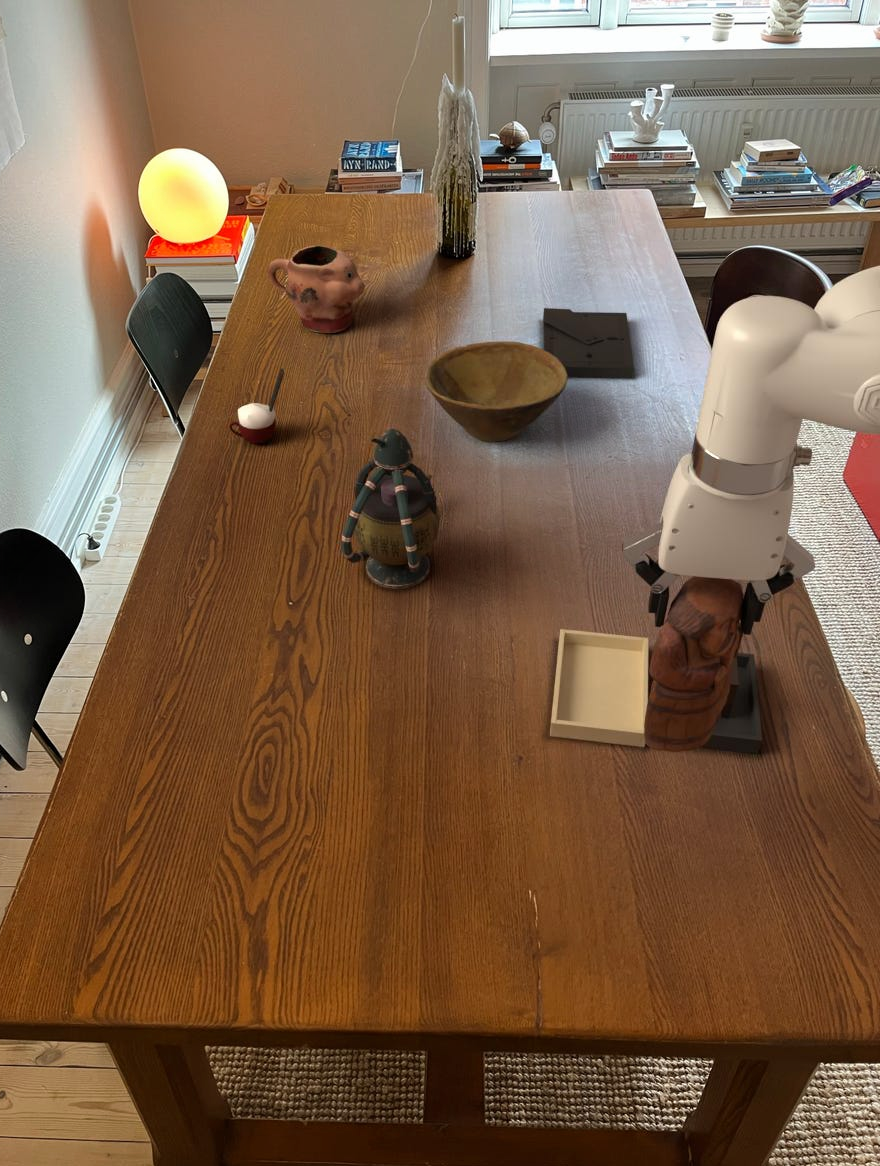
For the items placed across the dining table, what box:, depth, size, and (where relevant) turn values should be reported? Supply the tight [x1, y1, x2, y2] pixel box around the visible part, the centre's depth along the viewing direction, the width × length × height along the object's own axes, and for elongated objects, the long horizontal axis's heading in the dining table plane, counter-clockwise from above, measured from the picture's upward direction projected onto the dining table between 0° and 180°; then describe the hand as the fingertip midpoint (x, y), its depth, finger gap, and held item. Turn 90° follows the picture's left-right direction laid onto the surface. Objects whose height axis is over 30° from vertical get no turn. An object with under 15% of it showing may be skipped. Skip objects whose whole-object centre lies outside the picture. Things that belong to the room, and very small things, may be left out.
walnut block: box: [720, 656, 739, 718], centre depth 121 cm, size 5×5×6 cm
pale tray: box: [549, 628, 649, 748], centre depth 124 cm, size 11×16×2 cm
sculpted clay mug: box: [267, 245, 366, 334], centre depth 192 cm, size 20×12×14 cm, turn 73°
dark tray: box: [699, 652, 763, 755], centre depth 122 cm, size 11×14×2 cm
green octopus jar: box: [340, 427, 441, 590], centre depth 138 cm, size 12×25×23 cm, turn 165°
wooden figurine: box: [644, 576, 744, 753], centre depth 95 cm, size 12×6×18 cm, turn 146°
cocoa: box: [229, 368, 285, 445], centre depth 164 cm, size 10×6×12 cm, turn 78°
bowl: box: [424, 340, 569, 443], centre depth 165 cm, size 22×23×10 cm
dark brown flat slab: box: [542, 307, 635, 379], centre depth 185 cm, size 16×3×21 cm
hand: (701, 619), depth 92 cm, fingers closed on wooden figurine, 7 cm apart
